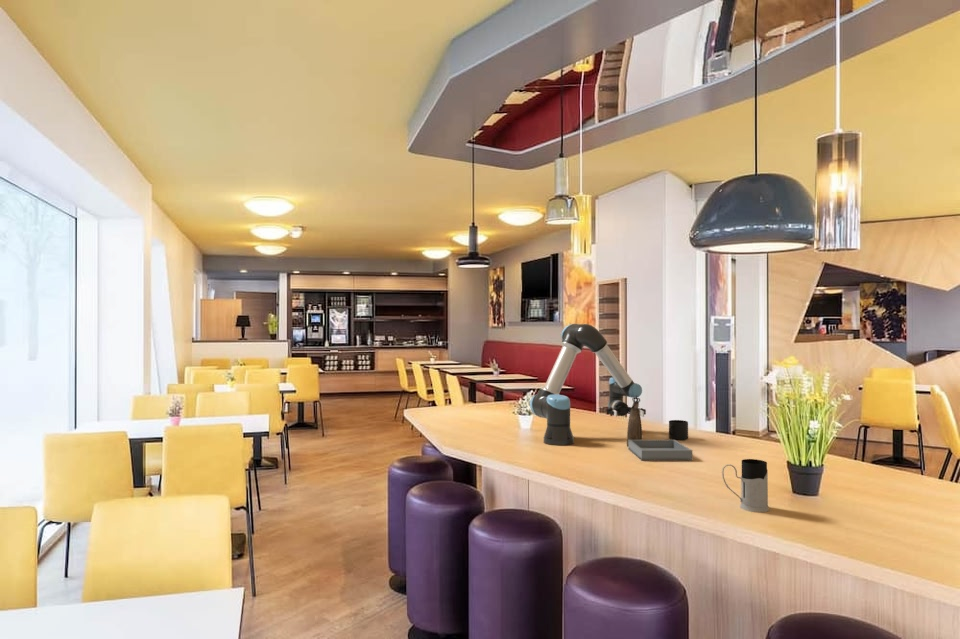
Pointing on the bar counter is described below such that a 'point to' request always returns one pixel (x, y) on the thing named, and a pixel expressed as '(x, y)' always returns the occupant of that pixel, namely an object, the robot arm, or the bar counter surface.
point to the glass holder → (753, 485)
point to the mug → (678, 430)
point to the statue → (634, 422)
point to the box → (660, 450)
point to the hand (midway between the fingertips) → (629, 414)
